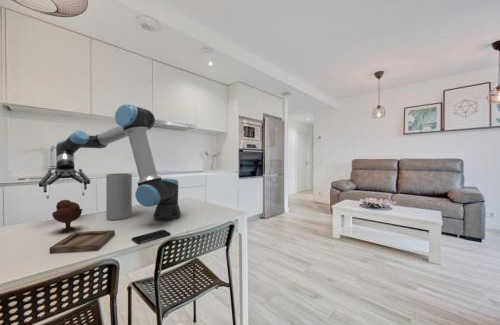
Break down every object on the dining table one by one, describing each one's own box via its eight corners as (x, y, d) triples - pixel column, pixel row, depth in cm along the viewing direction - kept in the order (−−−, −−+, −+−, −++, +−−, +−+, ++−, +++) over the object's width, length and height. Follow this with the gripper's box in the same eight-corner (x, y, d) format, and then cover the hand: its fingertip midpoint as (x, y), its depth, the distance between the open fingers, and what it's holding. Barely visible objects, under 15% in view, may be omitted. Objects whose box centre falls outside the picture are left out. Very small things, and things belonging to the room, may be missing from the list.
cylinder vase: (119, 213, 132) (120, 172, 130) (136, 215, 128) (136, 174, 127) (100, 219, 120) (100, 174, 118) (118, 221, 116) (118, 176, 115)
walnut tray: (114, 234, 98) (114, 230, 98) (97, 250, 83) (97, 245, 83) (75, 236, 95) (75, 231, 95) (49, 253, 79) (49, 247, 79)
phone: (171, 233, 100) (138, 243, 89) (171, 235, 100) (138, 245, 89) (163, 229, 105) (130, 237, 94) (163, 231, 105) (130, 240, 94)
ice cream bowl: (62, 236, 94) (62, 203, 94) (47, 232, 98) (46, 200, 98) (87, 229, 104) (87, 198, 104) (73, 225, 108) (72, 196, 107)
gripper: (92, 167, 128) (96, 196, 118) (33, 169, 112) (31, 203, 101) (93, 159, 124) (97, 188, 114) (32, 159, 107) (30, 193, 97)
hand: (66, 195), depth 107 cm, fingers open, 13 cm apart
